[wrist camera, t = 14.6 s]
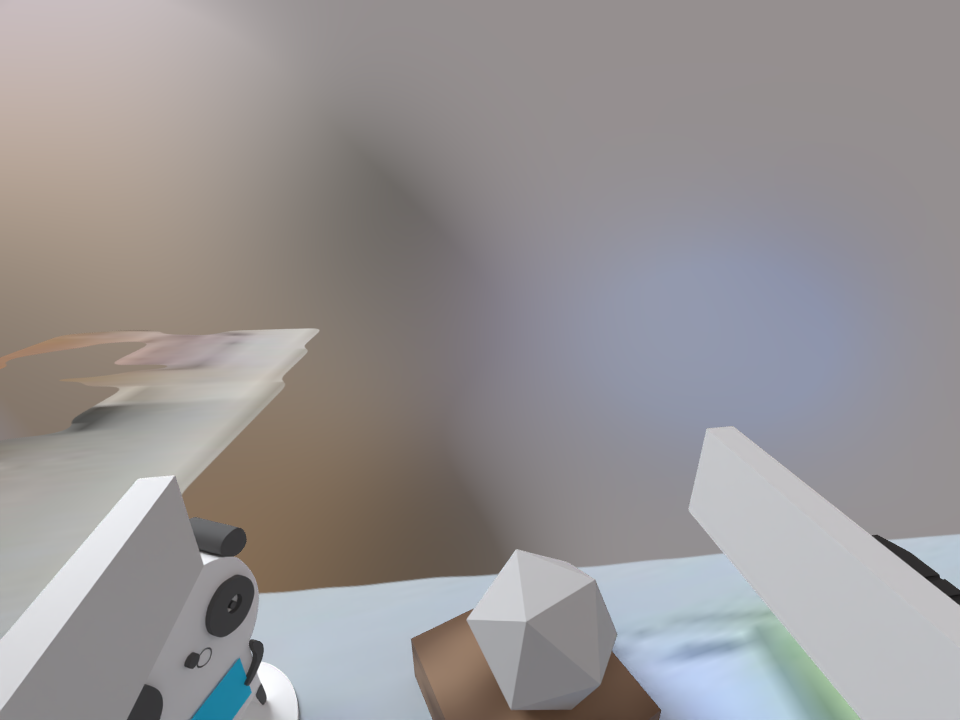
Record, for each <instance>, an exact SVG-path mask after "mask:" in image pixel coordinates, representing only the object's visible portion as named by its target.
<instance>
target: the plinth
mask: <svg viewBox="0 0 960 720" xmlns="http://www.w3.org/2000/svg"><path fill="white" fill-rule="evenodd" d="M473 610H474V609H472V610H470V611H468V612H466V613H464V614H461V615H459V616H457V617H455V618H453V619H451V620H449V621H447V622H445V623H443V624H441V625H439V626H437V627H435V628H433V629H431V630H428V631H426V632H424V633H422V634H420V635H418V636H416V637H414V638H412V639H411V642H412V652H413V661H414V671H415V677H416V679H417V682H418V684H419V687H420V689H421V692H422V694H423V697H424V699H425V702H426V704H427V707H428V709H429V712H430V714H431V717H432V719H433V720H659V718H660V713H661V709H660V708H659V707H658V706H657V705H656V703H655V702H654V701H653V700H652V699H651V697H650V696H649V695H648V694H647V693H646V691H645V690H644V689H643V688H642V687H641V686H640V684H639V683H638V682H637V681H636V680H635V678H634V677H633V676H632V675H631V674H630V672H629V671H628V670H627V669H626V668H625V666H624V665H623V664H622V663H621V662H620V660H619V659H618V658H617V657H616V656H615V654H614V653H613V652H611V655H610V658H609V661H608V664H607V667H606V670H605V673H604V676H603V679H602V682H601V685H600V686H599V687H597V688H596V689H595V690H594V691H593V692H592V693H590V694H589V695H588V696H587V697H586V698H585V699H583V700H582V701H581V702H580V703H579V704H578V705H576V706H575V707H574V708H573V709H572V710H511V709H510V707H509V705H508V703H507V701H506V699H505V697H504V695H503V693H502V691H501V689H500V687H499V685H498V683H497V681H496V679H495V677H494V675H493V673H492V671H491V669H490V667H489V665H488V662H487V660H486V658H485V656H484V654H483V652H482V650H481V648H480V646H479V644H478V642H477V640H476V638H475V636H474V634H473V632H472V630H471V628H470V626H469V624H468V622H467V620H466V619H467V618H468V617H469V615H470V614H471V612H472V611H473Z"/></svg>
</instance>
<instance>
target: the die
mask: <svg viewBox="0 0 960 720" xmlns="http://www.w3.org/2000/svg"><path fill="white" fill-rule="evenodd" d="M466 620H467V622H468V624H469V626H470V628H471V630H472V632H473V634H474V636H475V638H476V640H477V642H478V644H479V646H480V648H481V650H482V652H483V654H484V656H485V658H486V660H487V662H488V665H489V667H490V669H491V671H492V673H493V675H494V677H495V679H496V681H497V683H498V685H499V687H500V689H501V691H502V693H503V695H504V697H505V699H506V701H507V703H508V705H509V707H510V709H511V710H572V709H573V708H574V707H575V706H576V705H578V704H579V703H580V702H581V701H582V700H583V699H585V698H586V697H587V696H588V695H589V694H590V693H592V692H593V691H594V690H595V689H596V688H597V687H599V686H600V685H601V682H602V679H603V676H604V673H605V670H606V667H607V664H608V661H609V658H610V655H611V652H612V649H613V646H614V643H615V640H616V637H617V632H616V630H615V627H614V625H613V622H612V620H611V617H610V615H609V612H608V610H607V608H606V605H605V603H604V600H603V598H602V595H601V593H600V590H599V588H598V586H597V583H596V581H595V579H593V578H592V577H590V576H589V575H587V574H586V573H584V572H582V571H581V570H579V569H578V568H576V567H575V566H573V565H572V564H570V563H568V562H565V561H561V560H557V559H553V558H549V557H545V556H541V555H537V554H533V553H529V552H525V551H521V550H517V549H516V551H515V552H514V553H513V555H512V556H511V558H510V559H509V560H508V562H507V563H506V565H505V566H504V567H503V569H502V570H501V572H500V573H499V574H498V576H497V577H496V579H495V580H494V581H493V583H492V584H491V586H490V587H489V588H488V590H487V591H486V593H485V594H484V595H483V597H482V598H481V600H480V601H479V602H478V604H477V605H476V607H475V608H474V610H473V611H472V612H471V614H470V615H469V617H468V618H467V619H466Z"/></svg>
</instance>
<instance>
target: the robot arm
mask: <svg viewBox="0 0 960 720" xmlns="http://www.w3.org/2000/svg"><path fill="white" fill-rule="evenodd" d="M688 510H689V512H690V513H691V514H692V515H693V517H694V518H695V519H696V520H697V521H698V522H699V524H700V525H701V526H702V527H703V529H704V530H705V531H706V532H707V533H708V535H709V536H710V537H711V538H712V539H713V541H714V542H715V543H716V544H717V545H718V547H719V548H720V549H721V550H722V552H723V553H724V554H725V555H726V556H727V558H728V559H729V560H730V561H731V562H732V564H733V565H734V566H735V567H736V569H737V570H738V571H739V572H740V573H741V575H742V576H743V577H744V578H745V579H746V581H747V582H748V583H749V584H750V585H751V587H752V588H753V589H754V590H755V592H756V593H757V594H758V595H759V596H760V598H761V599H762V600H763V601H764V602H765V604H766V605H767V606H768V607H769V608H770V610H771V611H772V612H773V613H774V614H775V616H776V617H777V618H778V619H779V621H780V622H781V623H782V624H783V625H784V627H785V628H786V629H787V630H788V631H789V633H790V634H791V635H792V636H793V637H794V639H795V640H796V641H797V642H798V644H799V645H800V646H801V647H802V648H803V650H804V651H805V652H806V653H807V654H808V656H809V657H810V658H811V659H812V660H813V662H814V663H815V664H816V665H817V667H818V668H819V669H820V670H821V671H822V673H823V674H824V675H825V676H826V677H827V679H828V680H829V681H830V682H831V683H832V685H833V686H834V687H835V688H836V689H837V691H838V692H839V693H840V694H841V696H842V697H843V698H844V699H845V700H846V702H847V703H848V704H849V705H850V706H851V708H852V709H853V710H854V711H855V712H856V714H857V715H858V716H859V717H860V719H861V720H960V590H959V589H957V588H956V587H955V586H954V585H952V584H951V583H950V582H948V581H947V580H946V579H944V580H942V579H941V578H940V576H939V574H938V573H937V572H935V571H934V570H933V569H931V568H930V567H929V566H927V565H926V564H925V563H923V562H922V561H921V560H919V559H918V558H917V557H916V556H914V555H913V554H912V553H910V552H908V551H907V550H905V549H903V548H901V547H899V546H897V545H895V544H893V543H892V542H890V541H888V540H886V539H884V538H882V537H880V536H878V535H872V536H871V535H870V534H869V533H867V532H866V531H865V530H863V529H862V528H861V527H860V526H858V525H857V524H856V523H854V522H853V521H852V520H851V519H850V518H848V517H847V516H846V515H845V514H843V513H842V512H841V511H839V510H838V509H837V508H836V507H834V506H833V505H832V504H831V503H829V502H828V501H827V500H826V499H824V498H823V497H822V496H820V495H819V494H818V493H817V492H815V491H814V490H813V489H812V488H810V487H809V486H808V485H806V484H805V483H804V482H803V481H801V480H800V479H799V478H798V477H796V476H795V475H794V474H793V473H791V472H790V471H789V470H788V469H786V468H785V467H784V466H783V465H781V464H780V463H779V462H777V461H776V460H775V459H773V458H772V457H771V456H770V455H769V454H767V453H766V452H765V451H764V450H762V449H761V448H760V447H758V446H757V445H756V444H755V443H753V442H752V441H751V440H750V439H748V438H747V437H746V436H744V435H743V434H742V433H741V432H739V431H738V430H737V429H736V428H734V427H733V426H731V427H719V428H708V429H707V430H706V435H705V439H704V443H703V448H702V452H701V456H700V461H699V465H698V470H697V474H696V479H695V483H694V487H693V492H692V496H691V500H690V505H689V509H688ZM203 567H204V564H203V561H202V558H201V555H200V552H199V548H198V545H197V542H196V539H195V536H194V533H193V530H192V527H191V524H190V520H189V517H188V514H187V511H186V508H185V505H184V502H183V499H182V495H181V492H180V489H179V486H178V483H177V480H176V477H175V475H173V476H162V477H150V478H139V479H137V480H136V482H135V483H134V484H133V485H132V486H131V488H130V489H129V490H128V491H127V492H126V493H125V495H124V496H123V497H122V498H121V499H120V500H119V502H118V503H117V504H116V505H115V506H114V507H113V509H112V510H111V511H110V512H109V513H108V515H107V516H106V517H105V518H104V519H103V520H102V522H101V523H100V524H99V525H98V526H97V527H96V529H95V530H94V531H93V532H92V533H91V534H90V536H89V537H88V538H87V539H86V540H85V541H84V543H83V544H82V545H81V546H80V547H79V549H78V550H77V551H76V552H75V553H74V554H73V556H72V557H71V558H70V559H69V560H68V561H67V563H66V564H65V565H64V566H63V567H62V568H61V570H60V571H59V572H58V573H57V574H56V576H55V577H54V578H53V579H52V580H51V581H50V583H49V584H48V585H47V586H46V587H45V588H44V590H43V591H42V592H41V593H40V594H39V595H38V597H37V598H36V599H35V600H34V601H33V603H32V604H31V605H30V606H29V607H28V608H27V610H26V611H25V612H24V613H23V614H22V615H21V617H20V618H19V619H18V620H17V621H16V622H15V624H14V625H13V626H12V627H11V628H10V629H9V631H8V632H7V633H6V634H5V635H4V637H3V638H2V639H1V640H0V720H127V718H128V716H129V714H130V712H131V710H132V708H133V706H134V704H135V702H136V700H137V698H138V696H139V694H140V692H141V690H142V688H143V686H144V684H145V682H146V680H147V678H148V676H149V674H150V672H151V670H152V668H153V666H154V664H155V662H156V660H157V658H158V656H159V654H160V652H161V650H162V648H163V646H164V644H165V642H166V640H167V638H168V636H169V634H170V632H171V630H172V628H173V626H174V624H175V622H176V620H177V618H178V616H179V614H180V613H181V611H182V609H183V607H184V605H185V603H186V601H187V599H188V597H189V595H190V593H191V591H192V589H193V587H194V585H195V583H196V581H197V579H198V577H199V575H200V573H201V571H202V569H203Z"/></svg>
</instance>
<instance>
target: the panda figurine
mask: <svg viewBox="0 0 960 720" xmlns="http://www.w3.org/2000/svg"><path fill="white" fill-rule="evenodd" d="M189 520H190V524H191V527H192V530H193V533H194V536H195V539H196V542H197V545H198V548H199V552H200V555H201V558H202V561H203V564H204V567H203V569H202V571H201V573H200V575H199V577H198V579H197V581H196V583H195V585H194V587H193V589H192V591H191V593H190V595H189V597H188V599H187V601H186V603H185V605H184V607H183V609H182V611H181V613H180V614H179V616H178V618H177V620H176V622H175V624H174V626H173V628H172V630H171V632H170V634H169V636H168V638H167V640H166V642H165V644H164V646H163V648H162V650H161V652H160V654H159V656H158V658H157V660H156V662H155V664H154V666H153V668H152V670H151V672H150V674H149V676H148V678H147V680H146V682H145V684H144V686H143V688H142V690H141V692H140V694H139V696H138V698H137V700H136V702H135V704H134V706H133V708H132V710H131V712H130V714H129V716H128V718H127V720H299V711H298V702H297V698H296V694H295V691H294V688H293V686H292V684H291V682H290V680H289V679H288V678H287V676H286V675H285V674H284V673H283V672H282V671H280V670H279V669H278V668H276V667H274V666H273V665H270V664H268V663H265V662H261V660H262V657H263V652H264V648H263V644H262V643H261V642H260V641H257V640H253V639H251V640H250V638H251V635H252V633H253V630H254V626H255V622H256V618H257V612H258V602H259V595H258V587H257V583H256V580H255V578H254V576H253V574H252V572H251V571H250V569H249V568H248V567H247V566H246V565H245V564H244V563H243V562H242V561H241V560H240V559H238V558H236V557H233V556H235V555H237V554H239V553H240V552H241V551H242V549H243V548H244V546H245V544H246V534H245V532H244V530H243V529H241V528H238V527H234V526H230V525H226V524H222V523H218V522H213V521H209V520H205V519H201V518H197V517H195V518H191V519H189ZM249 640H250V641H249ZM250 650H251V651H252V653H253V657H252V654H251V651H250Z"/></svg>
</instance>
